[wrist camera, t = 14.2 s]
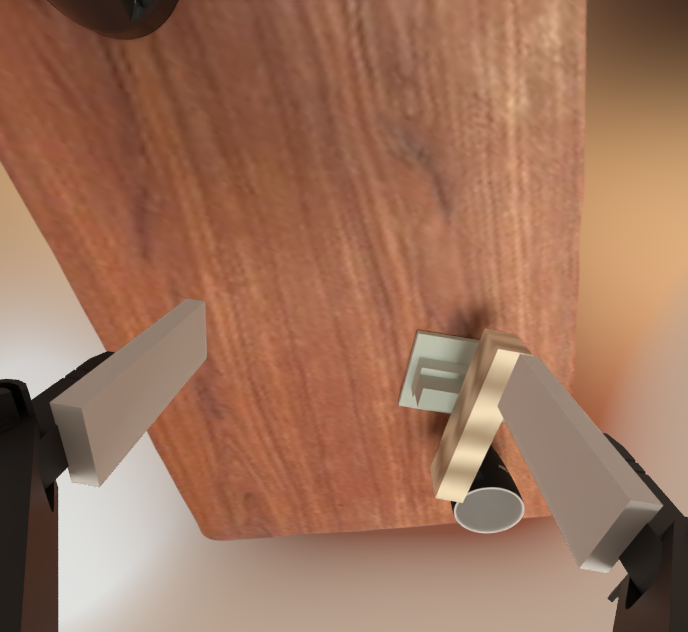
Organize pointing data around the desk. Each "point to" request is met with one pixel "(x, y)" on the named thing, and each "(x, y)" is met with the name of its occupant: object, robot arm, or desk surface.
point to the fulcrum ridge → (436, 371)
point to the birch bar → (475, 415)
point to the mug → (490, 499)
